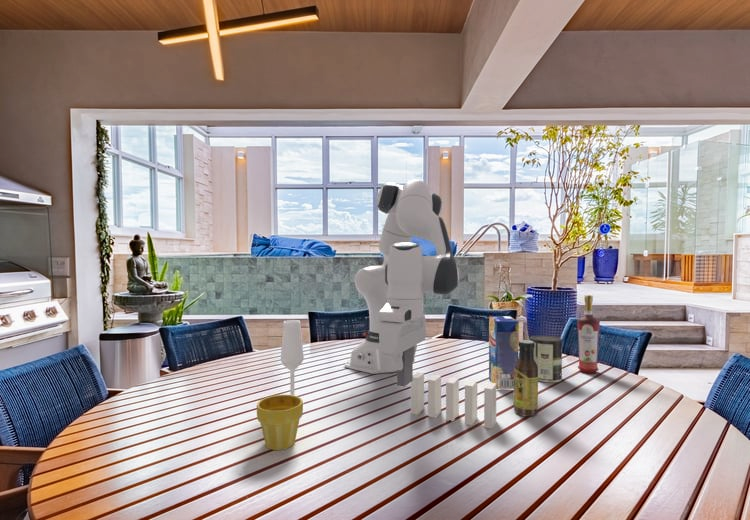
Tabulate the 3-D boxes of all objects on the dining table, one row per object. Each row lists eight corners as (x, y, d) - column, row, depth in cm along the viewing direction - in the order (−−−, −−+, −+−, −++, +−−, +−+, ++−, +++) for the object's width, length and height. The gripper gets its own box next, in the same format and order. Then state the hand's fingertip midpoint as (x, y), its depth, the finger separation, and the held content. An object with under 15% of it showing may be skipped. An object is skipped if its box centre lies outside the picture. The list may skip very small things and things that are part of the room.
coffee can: (554, 373, 151) (555, 335, 150) (567, 382, 140) (567, 341, 140) (526, 373, 151) (526, 334, 150) (536, 382, 140) (536, 341, 140)
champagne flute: (308, 402, 123) (308, 321, 122) (289, 408, 118) (289, 324, 117) (295, 397, 127) (294, 318, 127) (276, 403, 122) (275, 321, 122)
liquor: (600, 370, 154) (600, 295, 153) (598, 375, 148) (599, 297, 147) (578, 367, 158) (578, 294, 157) (575, 372, 152) (576, 296, 151)
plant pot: (280, 459, 89) (280, 414, 89) (247, 447, 95) (246, 404, 95) (312, 440, 98) (311, 399, 98) (280, 430, 104) (279, 391, 103)
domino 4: (445, 419, 110) (446, 382, 110) (451, 413, 114) (451, 377, 114) (453, 421, 109) (453, 383, 109) (458, 414, 113) (458, 378, 113)
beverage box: (509, 379, 144) (509, 316, 143) (518, 390, 133) (518, 321, 132) (488, 379, 144) (489, 316, 144) (496, 390, 133) (496, 321, 133)
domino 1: (396, 385, 100) (396, 343, 99) (405, 379, 104) (405, 339, 104) (404, 386, 99) (404, 344, 98) (412, 380, 103) (412, 340, 103)
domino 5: (464, 423, 108) (464, 385, 107) (469, 416, 112) (469, 379, 112) (472, 425, 107) (472, 386, 106) (477, 418, 111) (477, 380, 111)
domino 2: (410, 413, 114) (410, 377, 114) (417, 407, 119) (417, 372, 119) (417, 414, 114) (417, 378, 113) (424, 408, 118) (424, 373, 118)
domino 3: (428, 416, 112) (428, 379, 112) (434, 410, 117) (434, 374, 116) (435, 417, 111) (435, 380, 111) (441, 411, 116) (441, 375, 115)
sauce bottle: (510, 408, 118) (510, 338, 117) (532, 408, 118) (533, 338, 117) (518, 417, 111) (518, 343, 111) (541, 417, 111) (542, 343, 111)
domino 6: (484, 427, 105) (484, 388, 105) (488, 420, 110) (488, 382, 109) (492, 428, 104) (492, 389, 104) (496, 421, 109) (496, 383, 109)
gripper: (409, 303, 111) (409, 354, 112) (374, 314, 93) (374, 375, 94) (432, 305, 109) (431, 357, 109) (399, 316, 90) (399, 379, 91)
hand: (404, 366), depth 101 cm, fingers closed on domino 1, 5 cm apart
